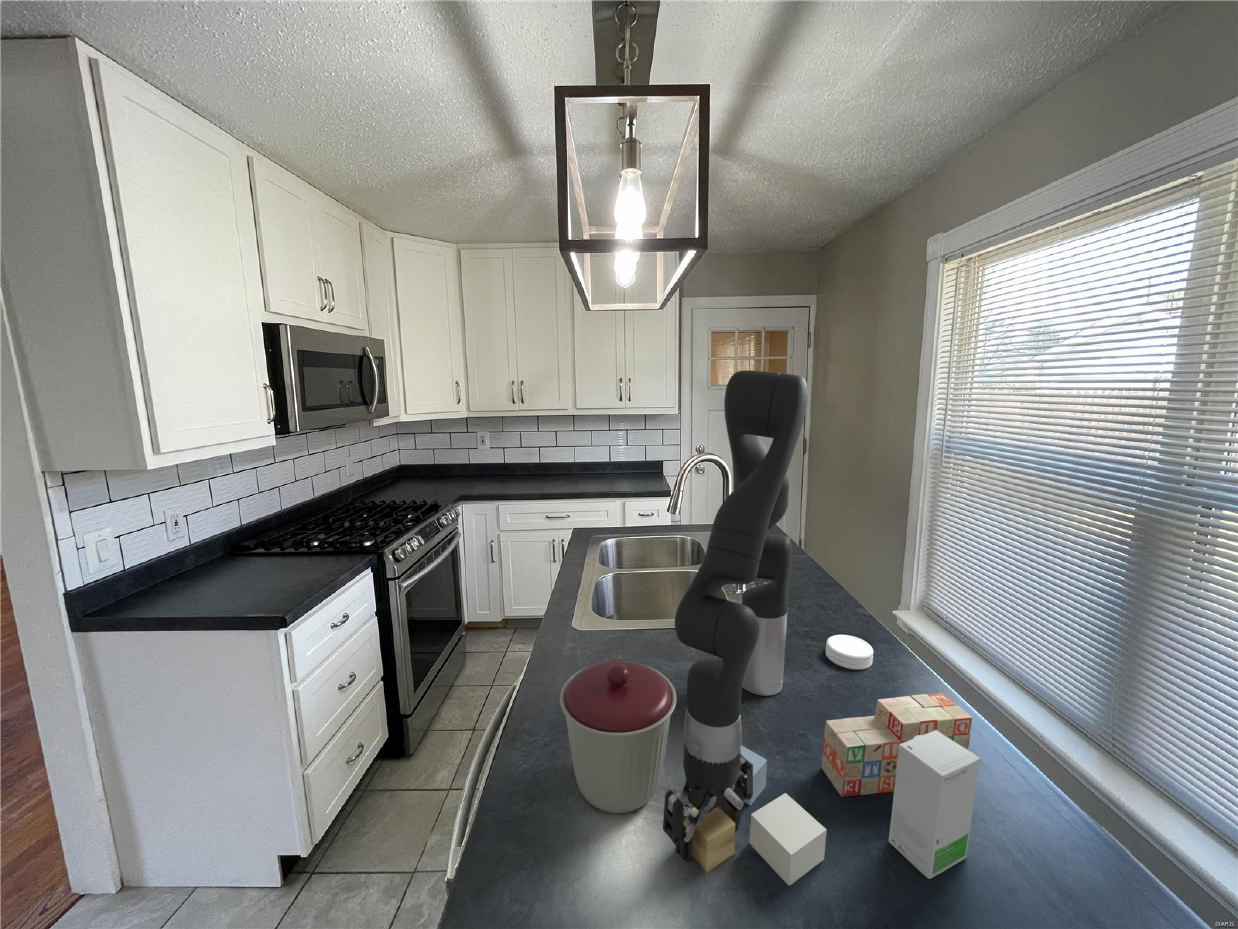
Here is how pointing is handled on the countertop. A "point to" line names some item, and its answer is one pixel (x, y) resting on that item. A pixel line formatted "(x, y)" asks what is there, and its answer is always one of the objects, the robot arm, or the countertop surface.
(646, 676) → the canister
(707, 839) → the maple cube
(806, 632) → the countertop surface
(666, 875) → the countertop surface
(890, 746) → the stack of blocks
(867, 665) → the white thick disc
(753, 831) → the base block
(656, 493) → the countertop surface
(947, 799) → the skincare box
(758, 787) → the slate cube
